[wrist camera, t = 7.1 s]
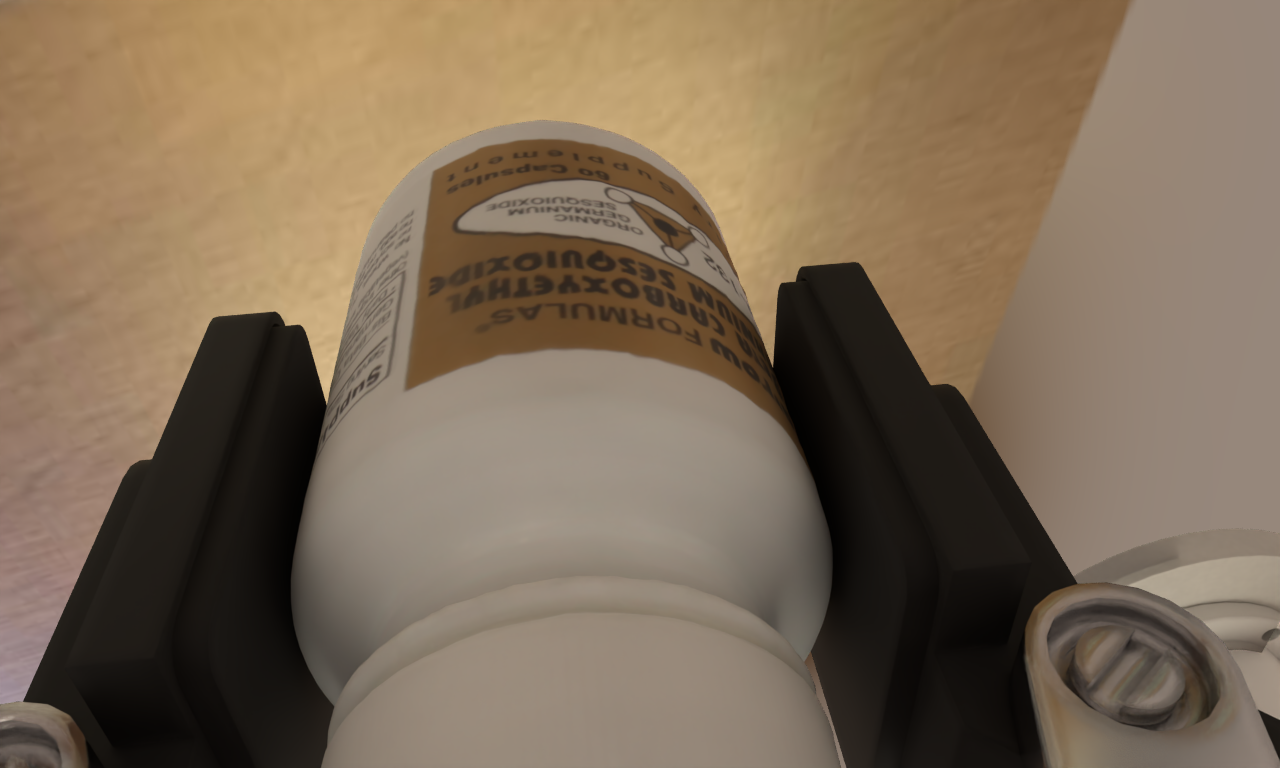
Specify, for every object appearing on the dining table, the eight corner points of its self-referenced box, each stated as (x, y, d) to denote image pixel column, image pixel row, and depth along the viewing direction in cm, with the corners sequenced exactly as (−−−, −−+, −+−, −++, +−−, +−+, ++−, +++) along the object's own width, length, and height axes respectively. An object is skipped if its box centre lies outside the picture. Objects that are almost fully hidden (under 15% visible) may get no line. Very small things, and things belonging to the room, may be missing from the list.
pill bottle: (791, 197, 12) (1110, 811, 6) (626, 458, 14) (726, 1106, 8) (437, 40, 10) (341, 647, 4) (314, 361, 12) (129, 1074, 6)
